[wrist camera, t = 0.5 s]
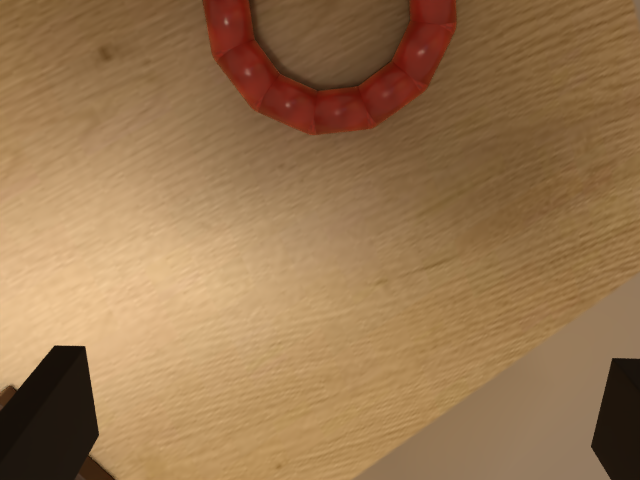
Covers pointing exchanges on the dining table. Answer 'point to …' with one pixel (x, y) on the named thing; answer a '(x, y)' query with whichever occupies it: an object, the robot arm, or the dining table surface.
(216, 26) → the ring
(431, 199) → the dining table surface
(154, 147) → the dining table surface
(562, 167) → the dining table surface
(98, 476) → the stand
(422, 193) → the dining table surface
